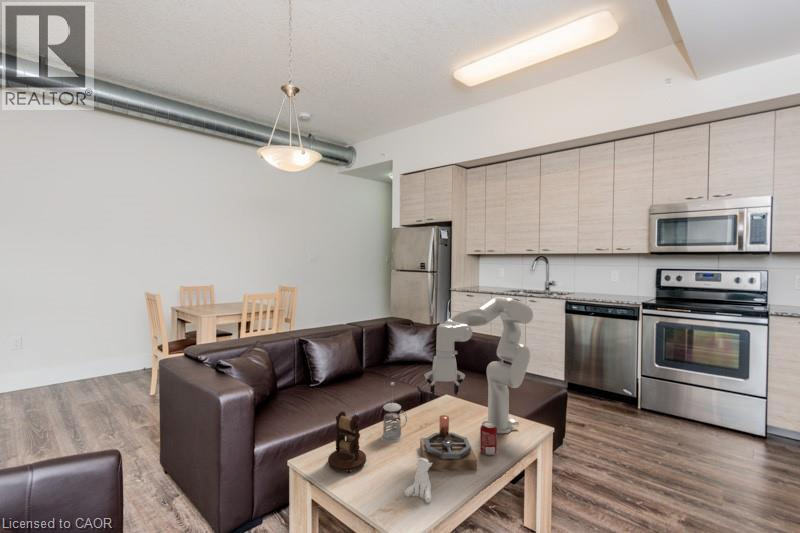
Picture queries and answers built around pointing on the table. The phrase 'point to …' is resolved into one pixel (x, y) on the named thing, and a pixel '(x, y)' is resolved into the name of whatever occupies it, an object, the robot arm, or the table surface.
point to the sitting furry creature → (421, 481)
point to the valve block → (449, 463)
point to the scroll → (347, 445)
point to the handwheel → (446, 441)
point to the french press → (395, 430)
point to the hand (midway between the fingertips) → (444, 393)
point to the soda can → (488, 438)
